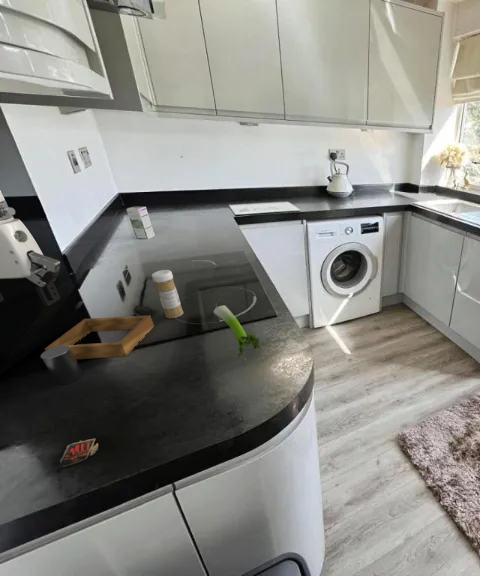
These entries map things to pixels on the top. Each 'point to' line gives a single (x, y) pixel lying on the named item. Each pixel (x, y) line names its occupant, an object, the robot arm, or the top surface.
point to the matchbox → (78, 452)
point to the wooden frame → (103, 350)
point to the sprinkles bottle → (167, 293)
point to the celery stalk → (237, 329)
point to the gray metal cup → (62, 364)
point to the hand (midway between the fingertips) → (24, 303)
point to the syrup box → (140, 222)
